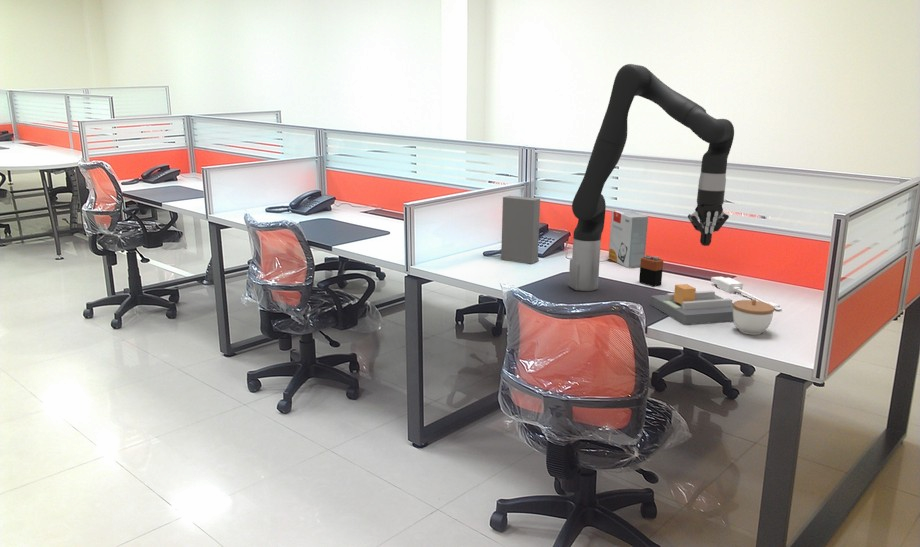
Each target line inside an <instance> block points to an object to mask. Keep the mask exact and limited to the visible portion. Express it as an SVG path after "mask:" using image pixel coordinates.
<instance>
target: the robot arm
mask: <svg viewBox="0 0 920 547" xmlns="http://www.w3.org/2000/svg"><path fill="white" fill-rule="evenodd" d="M610 93H611V94H610V98H609V101H608V105H607V107H606V111H605V113H604V114H605V115H603V119H602V123H601V125H600V128H599V131H598V134H597V136H596V139H595V142H594V144H593V148H592V152H591V154H590V157H589V160H588V163H587V167H586V169H585V172H584V176H583V178H582V181H581V183H580V184H579V186H578V189H577V191H576V193H575V195H574V197H573V200H572V203H571V210H572V213H573V215H574V217H575V218H577V220H578V221H577V224H576V227H575V228H574V230H573V240H572V258H570V259H569V270H568V286H569V287H570V288H571V289H572V290H574V291H582V292H591V291H595V290H598V288H599V279H600V278H599V277H600V276H599V275H600V263H601V262H600V260H601V243H602V234H603V231H604V227H605V218H606V209H607V208H606V207H607V206H606V200H605V196H604V195H603V194H602V192H603V189H604V186H605V183H606V182H607V180H608V178H609V177H610V175H611V174H612V172H613V171H614V169H615V168H616V167H617V165H618V163H619V161H620V159H621V156H622V154H623V152H624V149H625V147H626V143H627V139H628V116H629V112H630V110H631V107H632V103H633V101H634V99H635V97H636V96H637V97H641V98H644V99H646V100H649V101H651V102H652V103H654V104H655V105H658V107H659V108H661V109H662V110H663V111H664V112H665V113H666V114H667V115H668V116H670V118H671V119H673V120H675V121H677V122H678V123H680V124H681V125H683V126H684V127H686V128H688V129H690V130H691V132H692V133H694V134H695V135H696V137H698V138H699V139H700V140H702V141H703V142H705V143H708V144H709V145H708V148H707V151H706V152H705V153H704V154H703V156H702V157H701V158H702V159H701V167H700V173H699V174H700V175H699V179H698V180H699V181H698V185H697V186H698V187H697V196H696V206H695V211H694V212H693V213H692V214H690V213H689V214H688V215H687V218H688V221H690V223H691V224H692V227H693V228H694V230H695V231H697V232H700V237H699V238H700V240H699V242H700V245H701V246H703V247H707V246H710V245H711V243H712V237H713V233H715V232H719V231H720V229H721V228H722V227H723V226H724V224H725V223H726V222H727V220H728V219H729V218H730V215H728V214H726V213H725V212H724V207H723V205H724V201H725V193H726V182H727V178H726V177H727V176H726V175H727V166H728V158H729V154H730V152H731V148H732V146H733V143H734V142H733V141H734V137H735V127H734V125H733V123H732V121H731V120H729V119H727V118H715V117H713V116H712V115H710V114H709V113H708V112H707V111H706V109H705V108H704V107H703V106H701V105H700V104H698V103H696V102H695V101H693V100H691V98H690V99H689V98H688V97H687V96H684V95H683V94H681V93H680V92H677V91H676V90H674V89H672V88H671V87H670V86H668V85H667V84H665V83H664V82H663V81H662V80H661V79H660V78H658V77H657V76H656V75H655V74H654V73H653V72H651V70H650V69H648V67H646V66H643V65H639V64H634V63H633V64H632V63H627V64H625V65H623V66H621V68H619V69H618V71H617V73H616V75H615V77H614V80H613V84H612V88H611V92H610Z"/></svg>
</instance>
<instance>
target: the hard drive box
mask: <svg viewBox="0 0 920 547" xmlns="http://www.w3.org/2000/svg"><path fill="white" fill-rule="evenodd" d="M648 224H649V216H648V215H644V214H642V213H639V212H636V211H633V210H630V209H614V210H613V209H612V210H611V216H610V230H609V232H610V233H609V245H608V249H609V250H608V259H609V260H611V261H613V262H615V263H617V264H619V265H621V266H623V267H625V268H627V269H630V268H640V264H641V258H643V257H646V246H647V237H648Z"/></svg>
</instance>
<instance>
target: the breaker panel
mask: <svg viewBox="0 0 920 547" xmlns="http://www.w3.org/2000/svg"><path fill="white" fill-rule="evenodd" d="M733 303H734V302H733V299H731V298H724V297H721V296H719V295H717V294H716V292H715V291H714V290H699V291H696V292H695V301H686V302H682V305H681V304H679V303H677V302H676V301H674V292H670V293H669V292H667V293H666V294H662V295H661V294H660V295H659V294H658V295H651V296H650V306H651V305H652V306H651V307H653V306H654V307H653V308H655V309H656V310H658V309H659V311H660V312H661V313H663V312H664V313H663V314H665V313H666V314H665V315H667V316H669V317H670V318H672V319H673V320H675V321H677V322H679V323H681V324H682V325H684V326H688V325H699V324H701V325H702V324H713V323H728V322H734V320H733Z"/></svg>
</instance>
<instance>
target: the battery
mask: <svg viewBox="0 0 920 547" xmlns="http://www.w3.org/2000/svg"><path fill="white" fill-rule="evenodd" d="M663 267H664V259H661V258H660V256H655V255H654V256H651V255H649V254H647V255H646V254H645V257H643V258H641V264H640V267H639V279H638V282H639V283H640V284H643V285H647V286H651V287H657V286H660V285H662V280H663V279H662V278H663Z"/></svg>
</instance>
